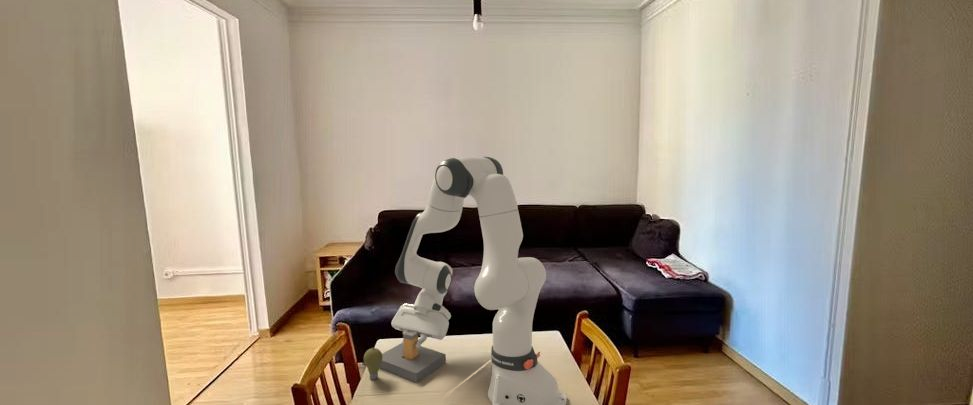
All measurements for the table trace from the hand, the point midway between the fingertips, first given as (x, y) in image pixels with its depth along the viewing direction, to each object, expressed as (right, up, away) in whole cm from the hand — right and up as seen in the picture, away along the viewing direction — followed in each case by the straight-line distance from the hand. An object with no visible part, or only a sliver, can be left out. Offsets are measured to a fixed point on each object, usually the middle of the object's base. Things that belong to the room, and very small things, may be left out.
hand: (410, 346), depth 137 cm
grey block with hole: (0, -7, +1) cm, 7 cm away
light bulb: (-10, -8, -7) cm, 14 cm away
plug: (0, -5, +1) cm, 6 cm away
